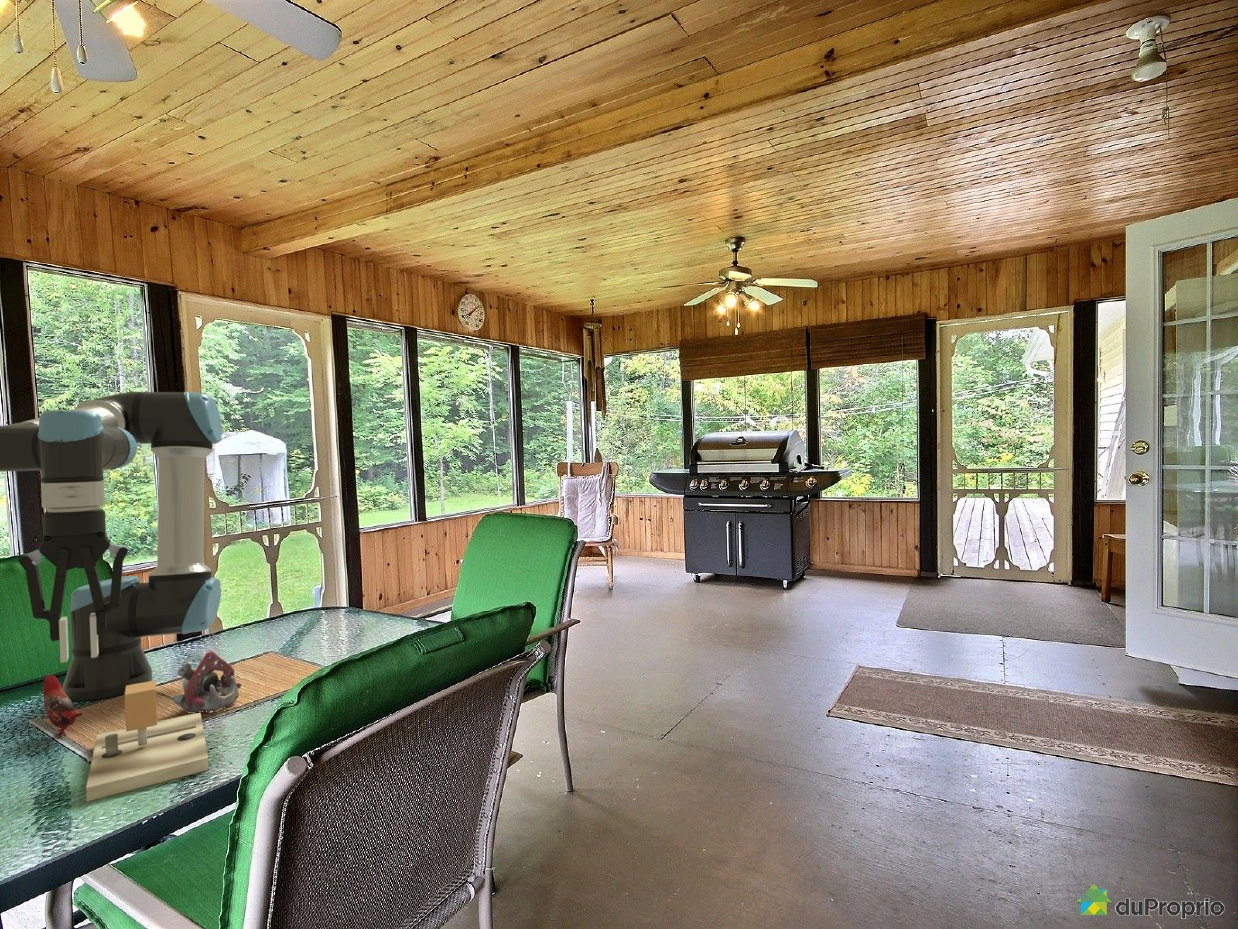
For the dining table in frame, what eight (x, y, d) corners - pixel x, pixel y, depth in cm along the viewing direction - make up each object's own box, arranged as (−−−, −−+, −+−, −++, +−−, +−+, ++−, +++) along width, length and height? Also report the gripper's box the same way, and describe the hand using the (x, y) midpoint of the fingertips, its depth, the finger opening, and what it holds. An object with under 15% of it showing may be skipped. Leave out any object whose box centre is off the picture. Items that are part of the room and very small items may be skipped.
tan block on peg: (128, 742, 107) (126, 685, 107) (157, 735, 109) (155, 680, 109) (127, 753, 103) (124, 694, 103) (157, 746, 105) (155, 689, 105)
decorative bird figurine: (57, 723, 121) (55, 670, 121) (94, 746, 111) (91, 689, 111) (37, 729, 118) (35, 675, 118) (72, 753, 109) (70, 694, 108)
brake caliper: (214, 708, 121) (181, 655, 122) (178, 739, 123) (146, 687, 124) (261, 686, 132) (230, 638, 133) (227, 715, 134) (197, 667, 135)
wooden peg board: (97, 745, 111) (96, 717, 111) (200, 723, 120) (199, 696, 120) (86, 801, 93) (85, 767, 93) (208, 770, 102) (207, 739, 102)
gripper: (-1, 514, 93) (5, 675, 93) (137, 507, 102) (142, 653, 103) (8, 511, 99) (15, 662, 100) (138, 504, 108) (143, 642, 109)
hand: (80, 657), depth 101 cm, fingers open, 3 cm apart
